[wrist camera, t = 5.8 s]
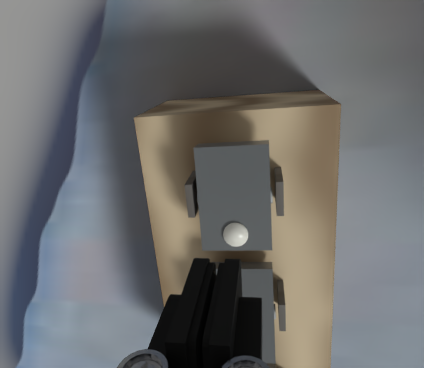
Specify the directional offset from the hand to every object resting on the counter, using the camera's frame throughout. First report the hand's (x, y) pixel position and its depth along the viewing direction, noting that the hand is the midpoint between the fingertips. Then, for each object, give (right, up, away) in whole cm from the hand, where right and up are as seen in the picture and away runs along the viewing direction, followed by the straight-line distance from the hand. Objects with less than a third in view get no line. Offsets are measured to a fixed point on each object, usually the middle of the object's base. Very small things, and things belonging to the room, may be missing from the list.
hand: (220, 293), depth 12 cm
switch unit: (+3, -1, +19) cm, 20 cm away
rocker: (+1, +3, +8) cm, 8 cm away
